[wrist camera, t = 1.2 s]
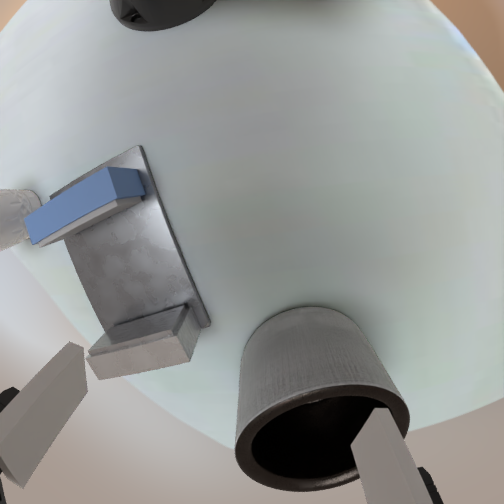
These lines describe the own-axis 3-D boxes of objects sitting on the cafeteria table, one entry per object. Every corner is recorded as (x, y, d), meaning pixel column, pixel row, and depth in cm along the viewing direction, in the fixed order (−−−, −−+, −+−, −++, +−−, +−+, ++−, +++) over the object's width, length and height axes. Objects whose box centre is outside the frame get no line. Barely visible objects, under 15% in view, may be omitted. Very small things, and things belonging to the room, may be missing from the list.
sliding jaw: (59, 211, 31) (23, 218, 24) (136, 169, 30) (106, 166, 23) (68, 237, 31) (34, 250, 25) (147, 199, 30) (119, 204, 23)
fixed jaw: (108, 326, 34) (82, 353, 27) (189, 301, 33) (173, 330, 26) (121, 350, 35) (99, 380, 28) (201, 328, 34) (189, 361, 27)
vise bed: (53, 195, 31) (49, 196, 30) (141, 146, 30) (138, 145, 29) (118, 347, 36) (115, 351, 35) (210, 322, 34) (209, 326, 34)
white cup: (39, 177, 31) (-13, 180, 21) (52, 232, 32) (1, 249, 23) (7, 197, 31) (-41, 204, 22) (19, 247, 33) (-28, 265, 23)
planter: (380, 368, 36) (425, 445, 21) (281, 419, 38) (288, 506, 23) (331, 277, 33) (382, 345, 18) (215, 343, 35) (193, 435, 20)
